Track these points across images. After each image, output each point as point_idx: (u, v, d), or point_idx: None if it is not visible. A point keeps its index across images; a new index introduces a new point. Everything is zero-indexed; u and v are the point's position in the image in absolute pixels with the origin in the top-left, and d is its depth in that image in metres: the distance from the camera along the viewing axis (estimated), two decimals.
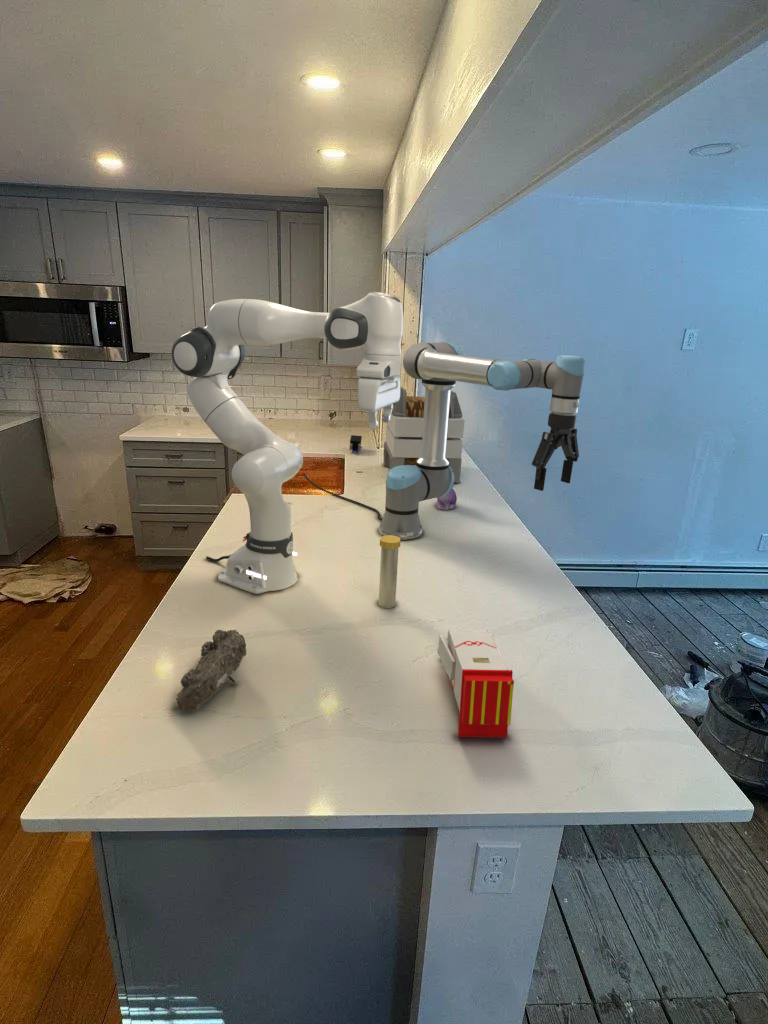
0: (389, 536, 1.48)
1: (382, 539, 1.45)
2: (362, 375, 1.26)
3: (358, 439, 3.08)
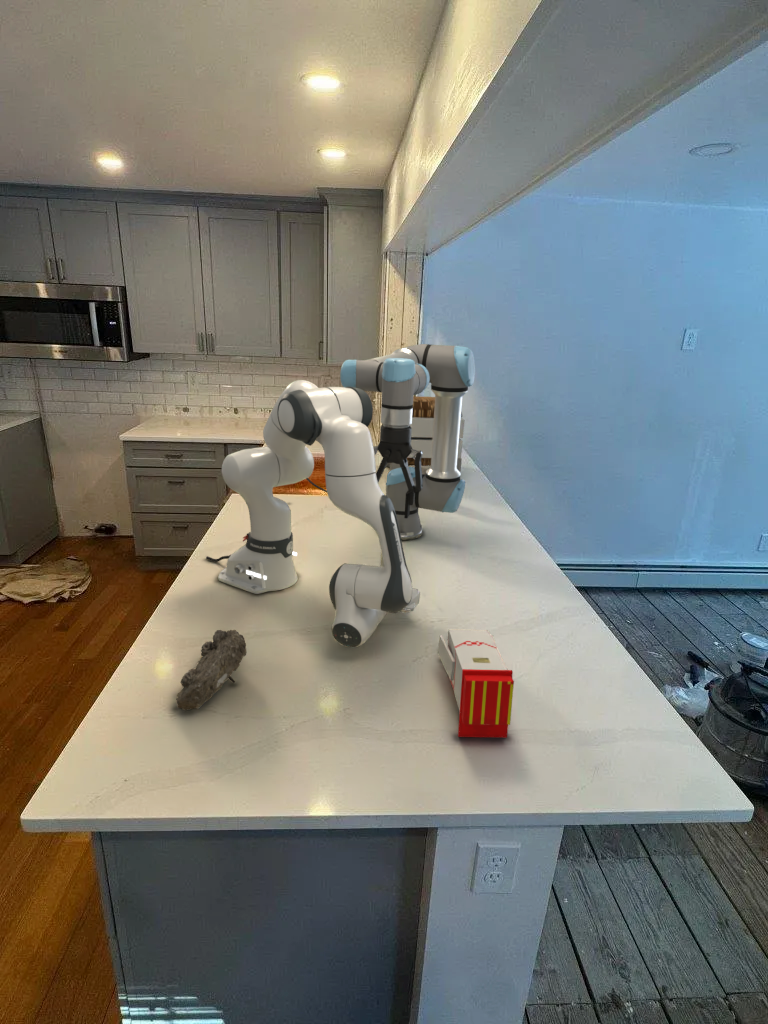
0: None
1: None
2: None
3: None
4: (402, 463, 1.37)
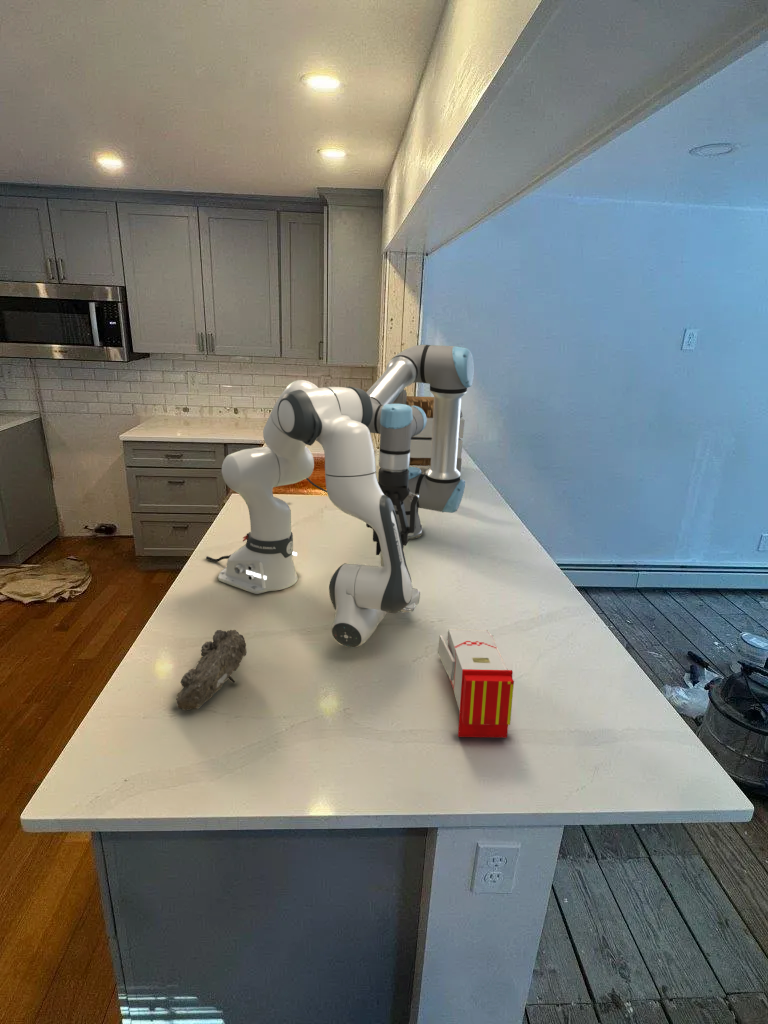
0: None
1: None
2: None
3: None
4: (399, 505, 1.41)
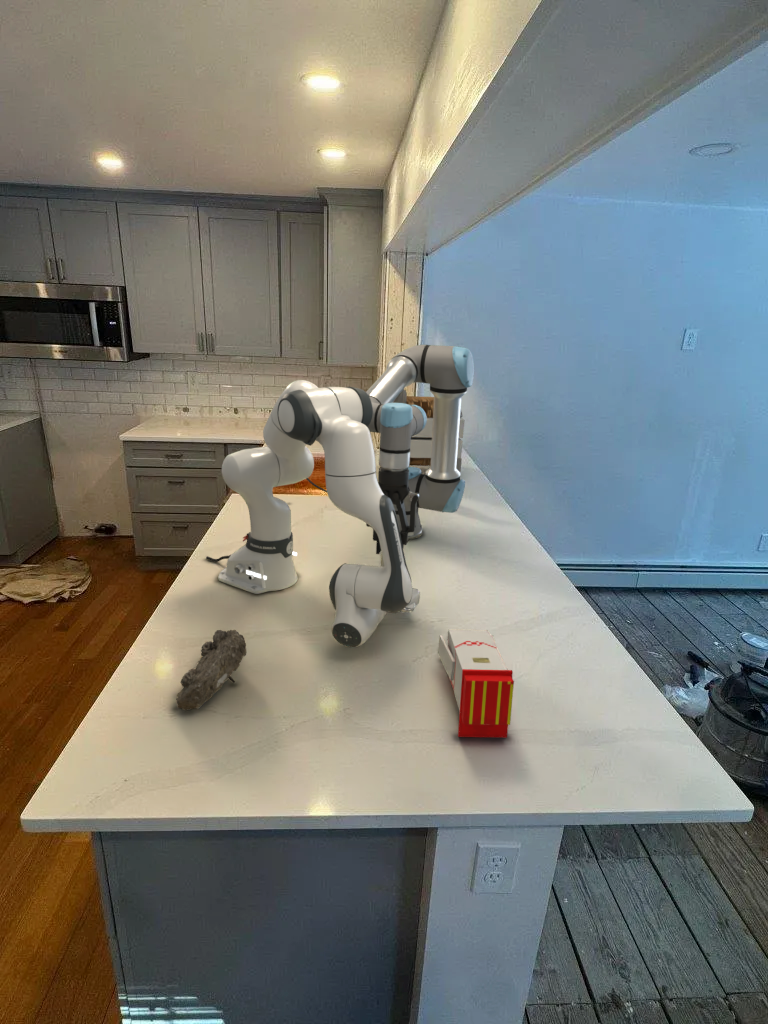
0: None
1: None
2: None
3: None
4: (399, 504, 1.41)
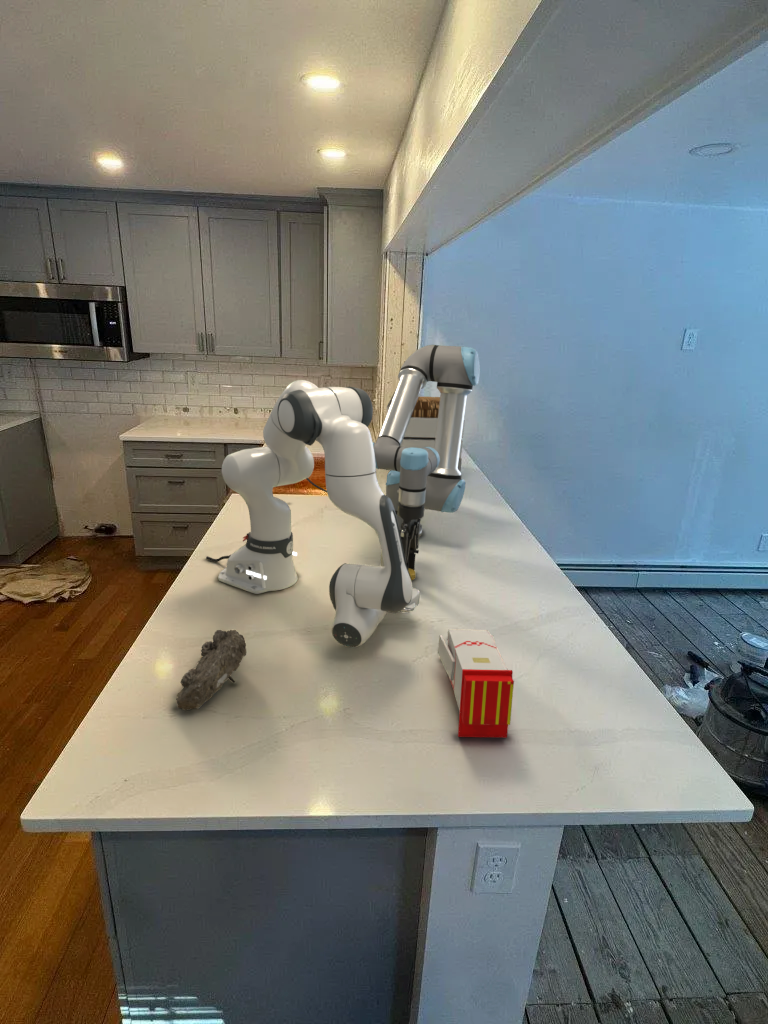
0: None
1: (413, 571, 1.67)
2: None
3: None
4: (417, 531, 1.65)
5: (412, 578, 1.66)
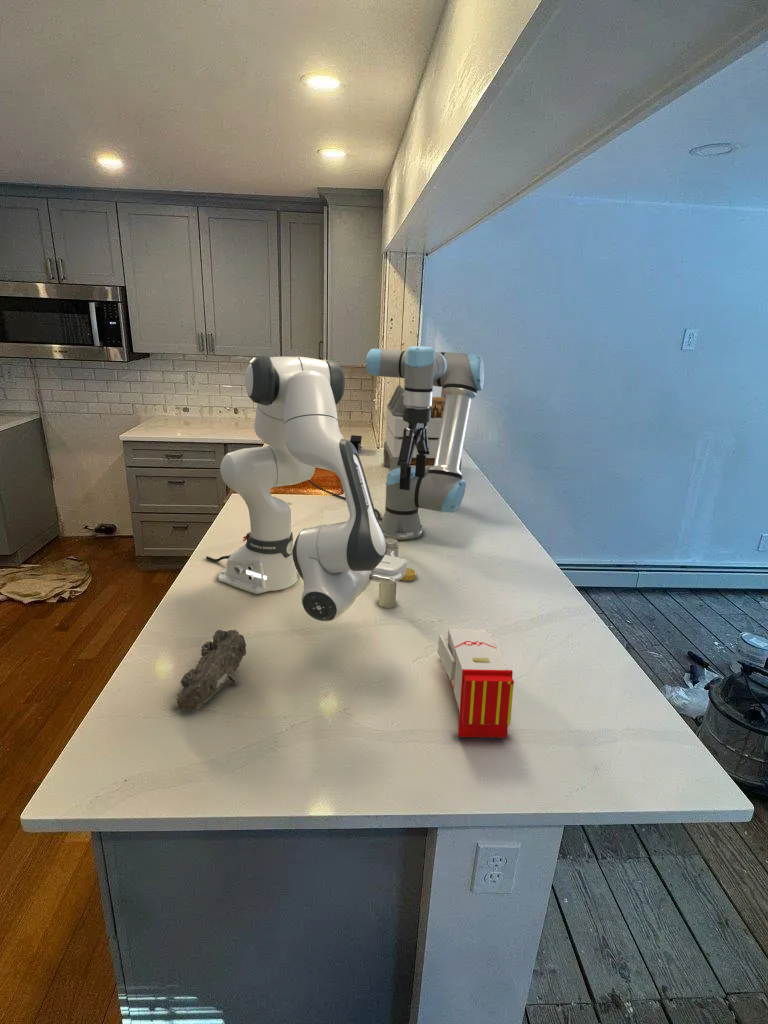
0: (405, 574, 1.66)
1: (413, 571, 1.67)
2: None
3: (358, 439, 3.08)
4: (424, 436, 1.56)
5: (412, 578, 1.66)
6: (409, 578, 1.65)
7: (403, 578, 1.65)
